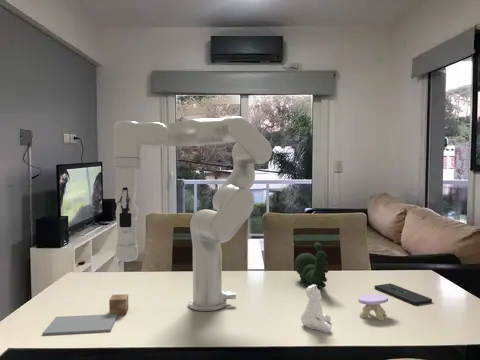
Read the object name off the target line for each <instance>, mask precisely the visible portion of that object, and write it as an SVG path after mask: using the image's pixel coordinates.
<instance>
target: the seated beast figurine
mask: <svg viewBox="0 0 480 360" xmlns="http://www.w3.org/2000/svg"><path fill="white" fill-rule="evenodd" d="M305 295H306V297H307V298H308V301H307V303H306V307H305V309H303V311H302V313H301V316H300V318H301V319H300V321H301V323H302V325H304V326H305V327H306V328H307V329H309V330H315V331H320V332H323V333H327V334H328V333H331V332H332V325H331V324H330V323H331V319H332V317H331V315H329V314H327V313H324V312H323V306H322V304H321V300H322V298H323V297H322V293H321V290H320V289H318V286H317V285H316V284H315V285H314V284H312V285H311V286H308V287H306V289H305Z"/></svg>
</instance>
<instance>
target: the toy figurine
mask: <svg viewBox="0 0 480 360" xmlns="http://www.w3.org/2000/svg"><path fill="white" fill-rule="evenodd" d="M313 247H314V249H315V250H316V254H315V255H314V254H312V253H309V252H303V253H300V254H299V255H297V256H296V258H295V260H294V268H295V271H296V272H297V274H298V275H299V278H300V282H301V283H303V284H305V285H304V286H305V287H306V288H307V287H308V286H311V285H312V284H314V285H315V284H316V285H317V287H319V288H321V289H323V288H326V286H327V284H326V282H327V281H328V278H327V277H326V274H327V273H329V270H328V268H327V267H326V265H329V262H328V261H327V258H328V254H326V252H325V251H323V245H322V244H321V243H320V242H315V243H314V244H313Z"/></svg>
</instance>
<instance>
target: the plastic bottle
mask: <svg viewBox="0 0 480 360" xmlns="http://www.w3.org/2000/svg"><path fill="white" fill-rule="evenodd" d="M127 202H129V201H127ZM120 204H121V202H120V203H118V205H117V207H116V209H115V219H116V226H117V227H116V228H117V235H116V236H117V239H116V246H115V247H116V248H115V253H114V254H115V258H116V261H118V262H125V263H128V262H132V261H136V260H137V258H138V257H139V256H138V255H139V247H138V246H139V245H138V239H137V225H138V219H139V217H138V216H139V208H138V207H137V205H136V203H135V201H134V202H133V203H131V211H130V213H131V227H120Z"/></svg>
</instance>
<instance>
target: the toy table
mask: <svg viewBox="0 0 480 360" xmlns="http://www.w3.org/2000/svg"><path fill="white" fill-rule="evenodd" d="M388 301H389V295H388V296H387V294H381V293H380V294H379V293H373V294H371V293H370V294H364V295H361V296H359V297H358V303H360V304H363V305H364V306H363V307H362V311H361V312H360V313H359V317H360V318H362V319H364V318H369V314H370V312H371V311H374V314H375V319H377V320H379V321H381V322H383V321H384V320H385V318H384V315H386V310H385V309H384V308H383V307H382V306H381V304H386V303H387V302H388Z"/></svg>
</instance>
